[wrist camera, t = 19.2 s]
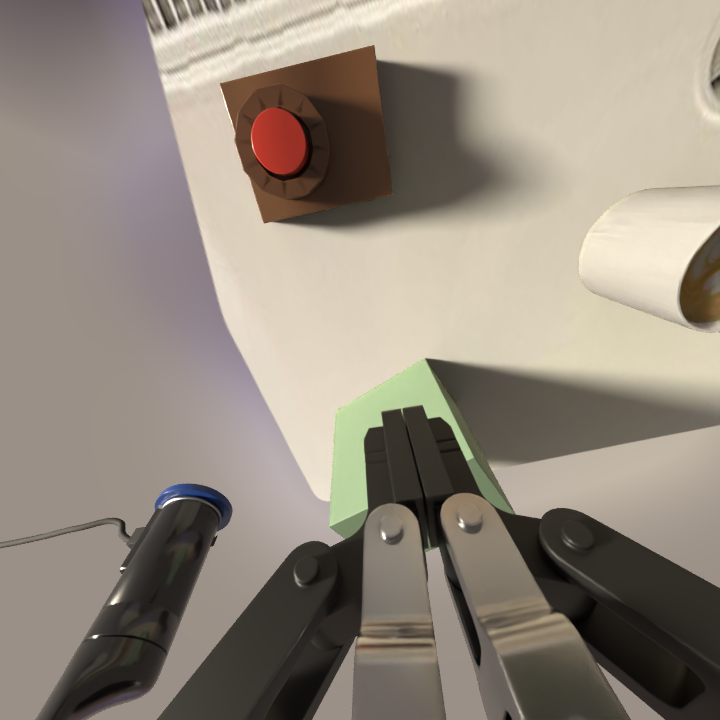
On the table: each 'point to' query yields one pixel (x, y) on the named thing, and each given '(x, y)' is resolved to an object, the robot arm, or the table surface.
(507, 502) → the toaster
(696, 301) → the coffee mug
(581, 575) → the robot arm
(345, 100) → the switch block
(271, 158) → the power button
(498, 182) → the table surface
